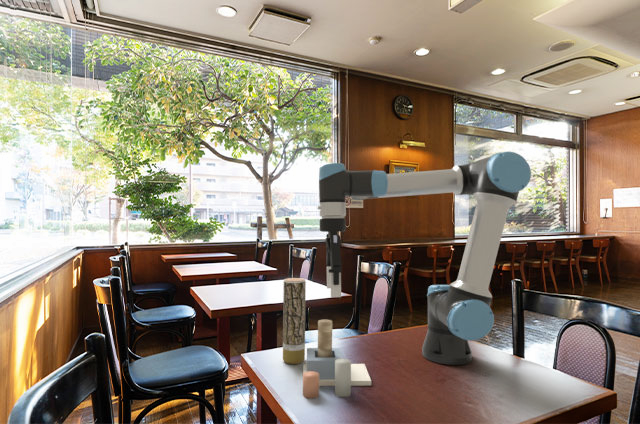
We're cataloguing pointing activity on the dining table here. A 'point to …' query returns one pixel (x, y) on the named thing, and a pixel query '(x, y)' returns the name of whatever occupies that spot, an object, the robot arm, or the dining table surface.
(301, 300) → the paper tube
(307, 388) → the short dowel
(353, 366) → the socket board
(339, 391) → the medium dowel
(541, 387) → the dining table surface
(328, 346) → the long dowel
